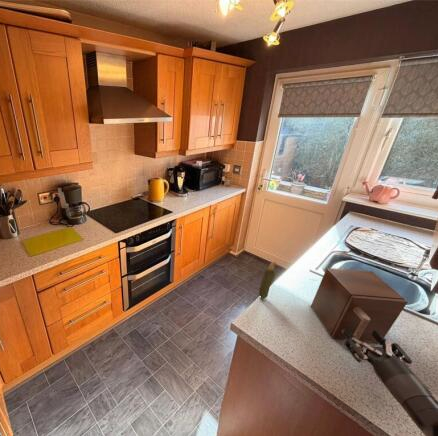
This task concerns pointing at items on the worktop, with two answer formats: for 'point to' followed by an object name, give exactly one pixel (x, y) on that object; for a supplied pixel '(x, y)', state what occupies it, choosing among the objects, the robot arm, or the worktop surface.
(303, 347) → the worktop surface
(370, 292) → the cupboard
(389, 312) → the shelf door
